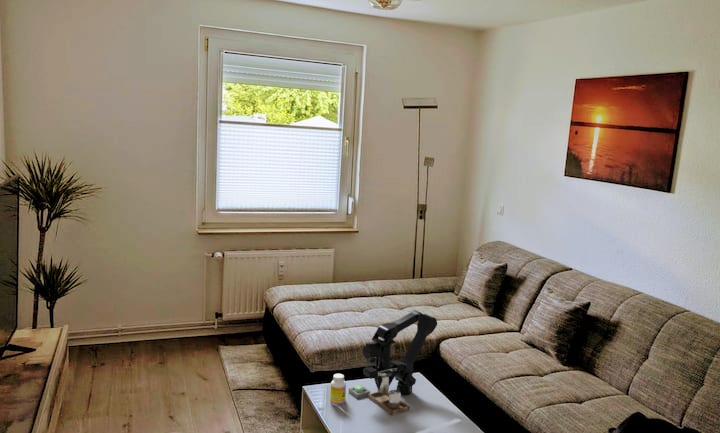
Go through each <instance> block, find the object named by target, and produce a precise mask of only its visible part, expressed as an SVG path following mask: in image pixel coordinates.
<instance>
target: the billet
mask: <svg viewBox="0 0 720 433" xmlns="http://www.w3.org/2000/svg"><path fill="white" fill-rule="evenodd" d="M380 376H382V379H381V384H380V388H379V389H378V388H377V392H380V393H387V392H389V391H390V386H389V375H388V374H387V372H380Z"/></svg>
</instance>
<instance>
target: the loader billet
mask: <svg viewBox="0 0 720 433" xmlns="http://www.w3.org/2000/svg"><path fill="white" fill-rule="evenodd" d="M401 396H402V395H401V392H400V391H398V390H397V389H391V390H389V406H388V408H389V409H391V410H397V409H400V400H402V399H401Z"/></svg>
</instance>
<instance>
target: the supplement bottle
mask: <svg viewBox="0 0 720 433" xmlns="http://www.w3.org/2000/svg"><path fill="white" fill-rule="evenodd" d="M346 389H347V382H346V381H345V375H344V374H342V373H335V374H333V377H332V381H331V382H330V397H329V398H330V399H329V402H330V405H332V406H336V407H339V405H344V404H345V403H346V394H347V393H346V392H347V390H346Z"/></svg>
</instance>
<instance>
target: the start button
mask: <svg viewBox="0 0 720 433" xmlns="http://www.w3.org/2000/svg"><path fill="white" fill-rule="evenodd" d="M363 386H364V385H362V386H360V385H355V386H354V387H355V392H357V393H361V392H364V387H365V386H364V387H363Z"/></svg>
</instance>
